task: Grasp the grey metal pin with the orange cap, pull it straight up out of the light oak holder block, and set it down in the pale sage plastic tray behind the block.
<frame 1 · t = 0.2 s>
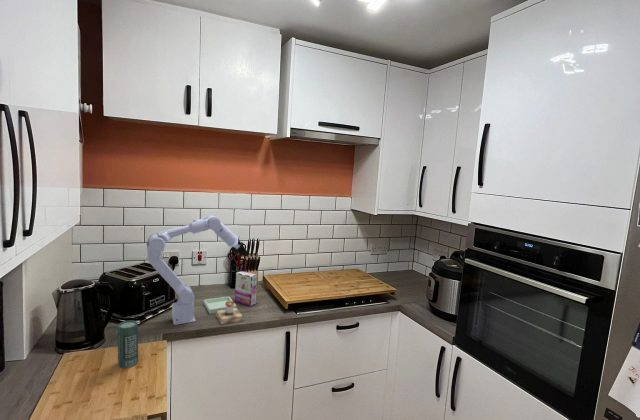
hand: (245, 252, 171), 31 cm above the worktop, tool tilted 45°, fingers open, 7 cm apart
tray: (219, 307, 177), on the worktop
pin holder block: (229, 318, 166), on the worktop
metal pin: (229, 310, 165), in the pin holder block
can: (128, 363, 125), on the worktop
candy bar box: (245, 303, 185), on the worktop
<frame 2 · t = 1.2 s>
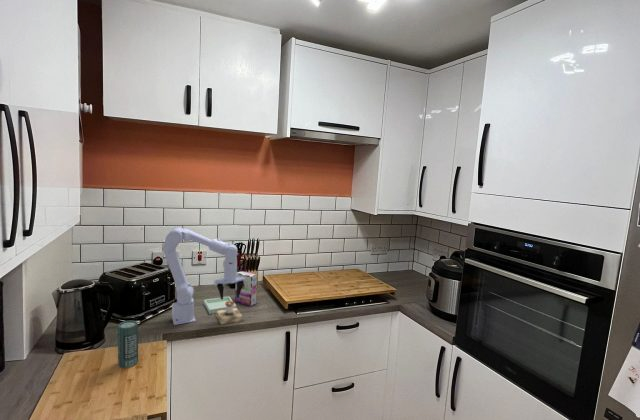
hand: (229, 297, 164), 10 cm above the worktop, tool pointing down, fingers open, 7 cm apart
nothing on the worktop moved.
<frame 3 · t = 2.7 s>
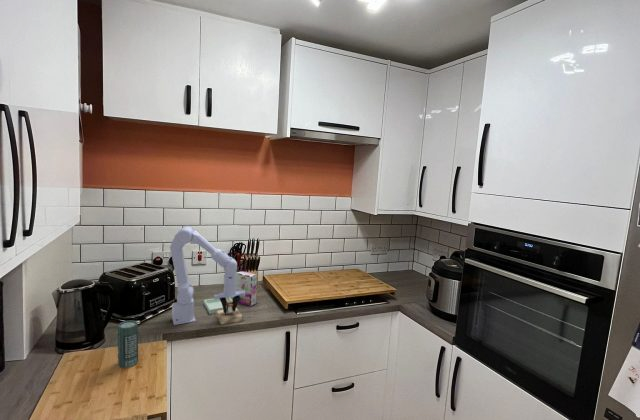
hand: (229, 311, 165), 3 cm above the worktop, tool pointing down, fingers closed on metal pin, 4 cm apart
metal pin: (229, 310, 165), in the pin holder block, touching gripper
everything else where it was.
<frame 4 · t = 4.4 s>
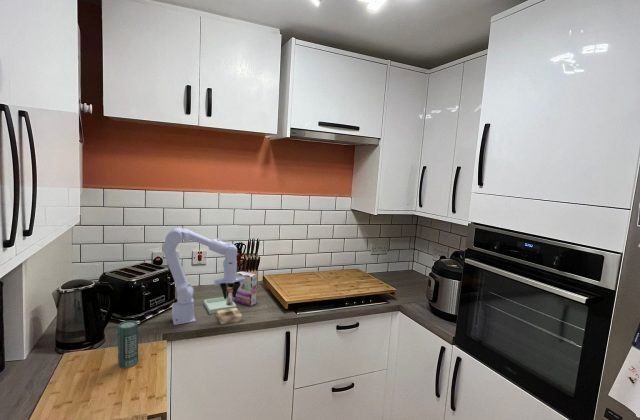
hand: (229, 297, 165), 10 cm above the worktop, tool pointing down, fingers closed on metal pin, 4 cm apart
metal pin: (229, 296, 164), point 11 cm above the worktop, touching gripper
everything else where it was.
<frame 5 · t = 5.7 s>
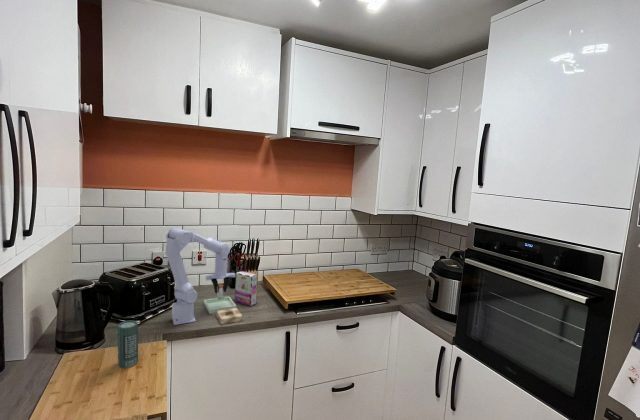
hand: (220, 291, 176), 8 cm above the worktop, tool pointing down, fingers closed on metal pin, 4 cm apart
metal pin: (220, 291, 176), point 9 cm above the worktop, tilted 6°, touching gripper
everything else where it was.
when the fingers open (5 cm above the worktop, at t = 6.6 s): metal pin drops 1 cm, resting on tray.
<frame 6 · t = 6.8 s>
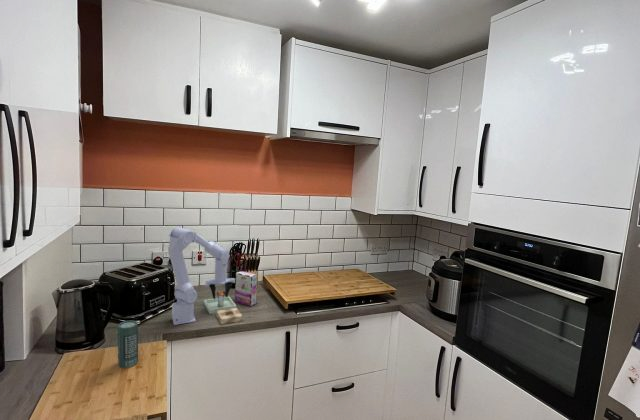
hand: (220, 297, 176), 5 cm above the worktop, tool pointing down, fingers open, 6 cm apart
metal pin: (220, 299, 176), in the tray, point 5 cm above the worktop
everything else where it was.
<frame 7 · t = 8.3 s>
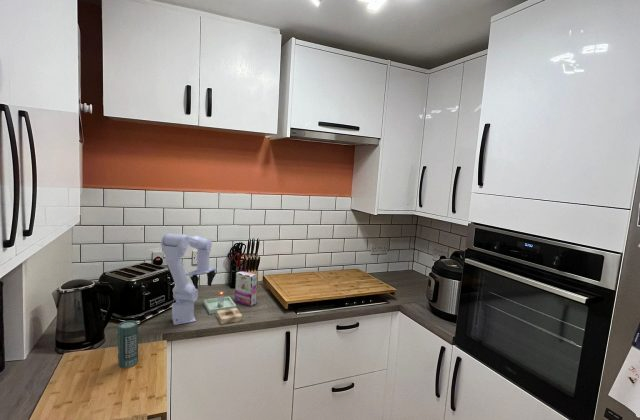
hand: (202, 287, 175), 10 cm above the worktop, tool pointing down, fingers open, 7 cm apart
nothing on the worktop moved.
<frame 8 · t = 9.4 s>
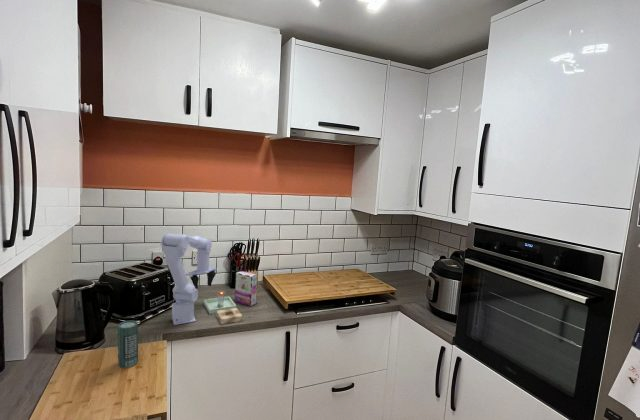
hand: (202, 287, 175), 10 cm above the worktop, tool pointing down, fingers open, 7 cm apart
nothing on the worktop moved.
at the end: metal pin inside the target area on the tray (0.8 cm from its centre), point 4.5 cm above the tray's base; the gripper is holding nothing; metal pin moved 13.2 cm from its start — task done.
